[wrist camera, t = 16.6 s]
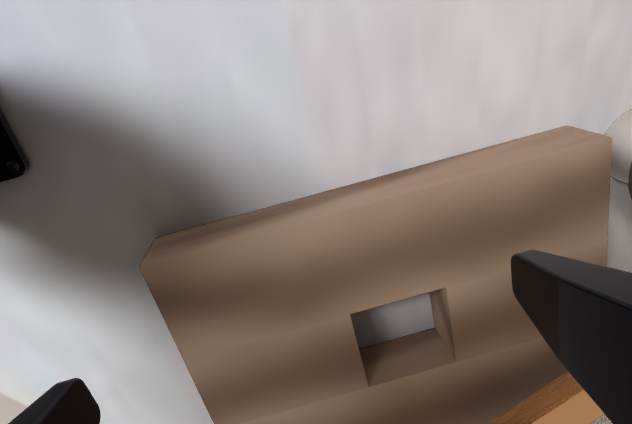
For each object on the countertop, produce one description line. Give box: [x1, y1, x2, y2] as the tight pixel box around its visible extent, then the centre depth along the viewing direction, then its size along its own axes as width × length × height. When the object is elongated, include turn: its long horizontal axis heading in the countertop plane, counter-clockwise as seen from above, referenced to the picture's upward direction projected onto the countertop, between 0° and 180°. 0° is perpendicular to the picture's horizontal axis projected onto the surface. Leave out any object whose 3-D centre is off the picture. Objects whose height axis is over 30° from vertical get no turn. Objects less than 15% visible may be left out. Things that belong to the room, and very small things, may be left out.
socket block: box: [139, 126, 612, 424], centre depth 22 cm, size 16×22×4 cm
